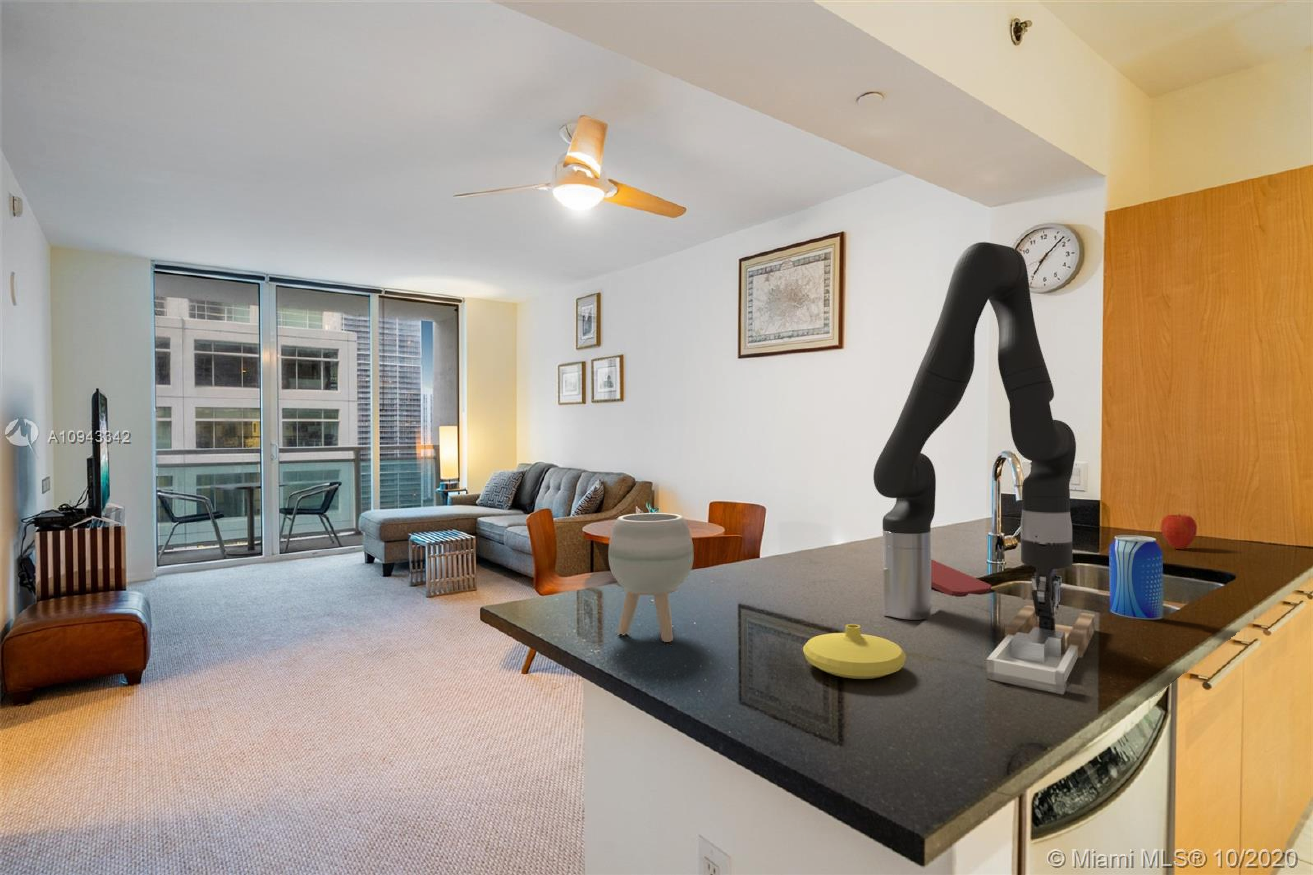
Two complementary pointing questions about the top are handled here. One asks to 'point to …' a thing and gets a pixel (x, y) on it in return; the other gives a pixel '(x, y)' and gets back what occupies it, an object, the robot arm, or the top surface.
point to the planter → (650, 562)
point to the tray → (1031, 668)
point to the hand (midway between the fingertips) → (1047, 638)
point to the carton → (955, 581)
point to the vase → (854, 654)
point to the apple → (1179, 530)
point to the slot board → (1056, 628)
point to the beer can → (1136, 577)
